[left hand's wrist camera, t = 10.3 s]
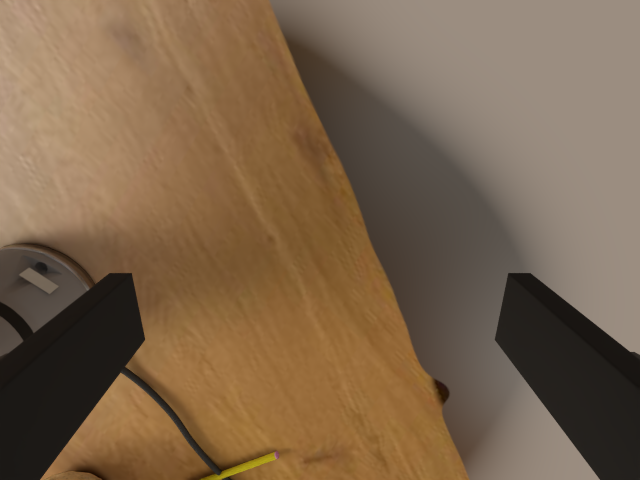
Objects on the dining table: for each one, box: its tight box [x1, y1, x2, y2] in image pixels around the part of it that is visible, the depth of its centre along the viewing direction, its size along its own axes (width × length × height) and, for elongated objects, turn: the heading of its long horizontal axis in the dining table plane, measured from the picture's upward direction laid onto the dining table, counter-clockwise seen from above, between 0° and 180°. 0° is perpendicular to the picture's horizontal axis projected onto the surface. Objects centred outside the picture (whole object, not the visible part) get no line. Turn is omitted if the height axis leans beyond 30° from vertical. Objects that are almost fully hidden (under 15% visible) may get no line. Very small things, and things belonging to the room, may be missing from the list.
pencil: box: [199, 451, 279, 480], centre depth 55 cm, size 16×1×1 cm, turn 116°
